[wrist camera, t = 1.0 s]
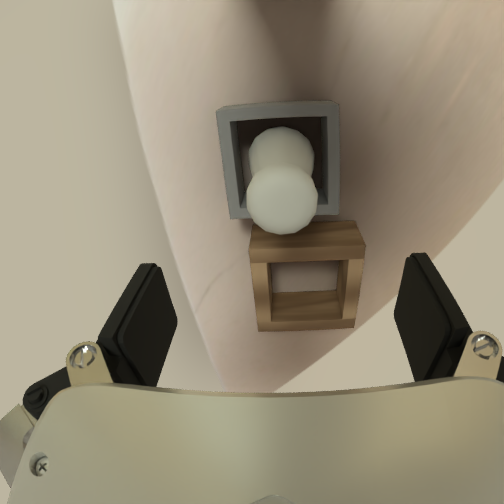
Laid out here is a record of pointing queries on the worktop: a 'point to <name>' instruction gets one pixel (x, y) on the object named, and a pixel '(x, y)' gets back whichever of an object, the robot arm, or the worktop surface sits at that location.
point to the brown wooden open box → (313, 302)
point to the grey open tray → (325, 109)
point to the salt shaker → (281, 181)
